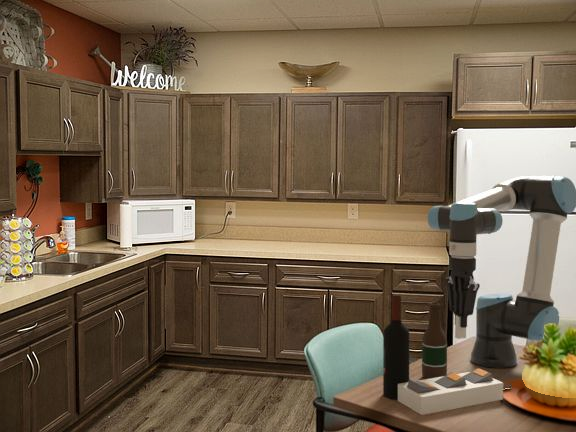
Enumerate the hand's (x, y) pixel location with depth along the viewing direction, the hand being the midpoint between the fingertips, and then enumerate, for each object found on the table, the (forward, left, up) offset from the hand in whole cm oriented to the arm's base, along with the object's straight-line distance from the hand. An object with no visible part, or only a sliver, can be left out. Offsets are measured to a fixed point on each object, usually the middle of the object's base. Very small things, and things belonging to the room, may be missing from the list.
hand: (460, 337), depth 194 cm
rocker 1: (+13, 0, -14) cm, 19 cm away
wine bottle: (+15, -10, -18) cm, 26 cm away
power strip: (-1, 0, -18) cm, 18 cm away
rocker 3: (-7, 0, -14) cm, 16 cm away
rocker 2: (+3, 0, -14) cm, 14 cm away
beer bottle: (-5, -19, -18) cm, 27 cm away
